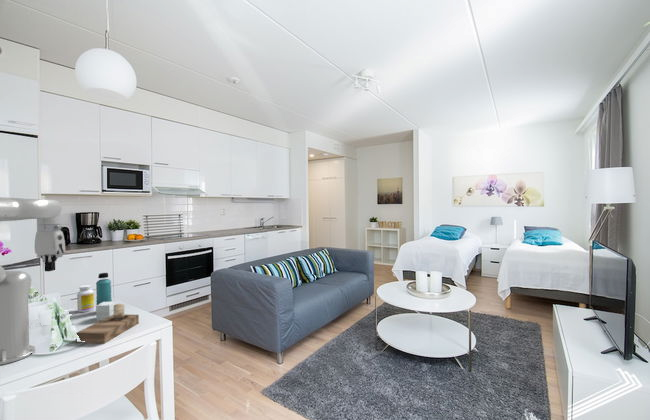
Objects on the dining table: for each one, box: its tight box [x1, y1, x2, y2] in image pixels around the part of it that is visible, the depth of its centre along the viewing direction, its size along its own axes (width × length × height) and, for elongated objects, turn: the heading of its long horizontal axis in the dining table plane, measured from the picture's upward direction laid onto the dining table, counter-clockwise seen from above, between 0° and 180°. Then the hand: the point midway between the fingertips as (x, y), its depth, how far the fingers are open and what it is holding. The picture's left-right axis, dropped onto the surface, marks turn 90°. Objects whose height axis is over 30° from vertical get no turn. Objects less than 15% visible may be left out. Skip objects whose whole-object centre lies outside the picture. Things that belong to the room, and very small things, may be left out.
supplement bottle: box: [76, 284, 95, 313], centre depth 157 cm, size 7×7×13 cm
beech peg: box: [113, 303, 125, 321], centre depth 136 cm, size 4×4×10 cm
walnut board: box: [75, 313, 140, 344], centre depth 131 cm, size 20×12×4 cm, turn 176°
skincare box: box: [95, 300, 117, 322], centre depth 147 cm, size 6×6×7 cm
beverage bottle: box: [95, 272, 112, 306], centre depth 155 cm, size 6×7×20 cm
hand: (50, 270), depth 130 cm, fingers closed
